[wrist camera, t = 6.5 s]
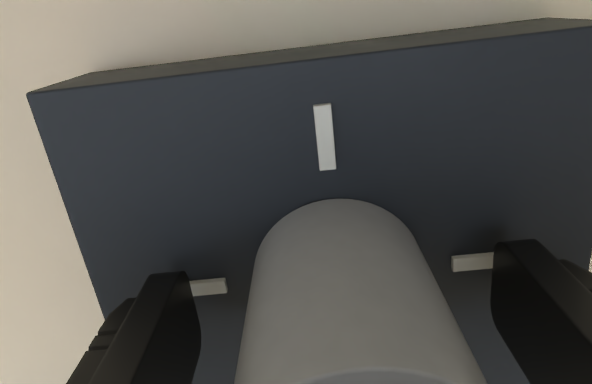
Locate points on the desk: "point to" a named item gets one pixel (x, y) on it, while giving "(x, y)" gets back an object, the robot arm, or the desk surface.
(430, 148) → the dial panel
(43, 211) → the desk surface
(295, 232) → the program dial
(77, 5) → the desk surface
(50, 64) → the desk surface
